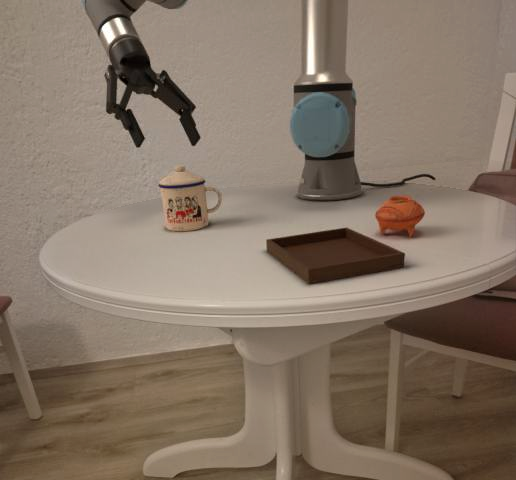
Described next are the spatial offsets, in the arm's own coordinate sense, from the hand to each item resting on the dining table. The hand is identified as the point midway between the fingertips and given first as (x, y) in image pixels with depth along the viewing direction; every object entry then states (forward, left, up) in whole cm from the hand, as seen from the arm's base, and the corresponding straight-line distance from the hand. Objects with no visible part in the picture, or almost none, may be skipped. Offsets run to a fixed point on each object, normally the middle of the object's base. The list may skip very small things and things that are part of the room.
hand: (170, 142), depth 96 cm
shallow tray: (-16, +41, -15) cm, 47 cm away
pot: (-32, +34, -16) cm, 49 cm away
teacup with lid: (-2, +7, -16) cm, 17 cm away
